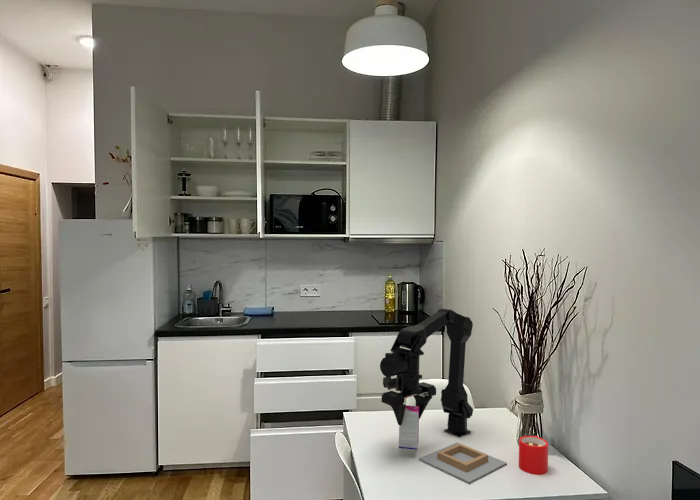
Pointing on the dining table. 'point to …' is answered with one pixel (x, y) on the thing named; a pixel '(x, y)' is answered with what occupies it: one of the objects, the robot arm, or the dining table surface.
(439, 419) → the dining table surface
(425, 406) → the robot arm
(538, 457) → the mug
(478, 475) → the holder
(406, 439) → the supplement box
